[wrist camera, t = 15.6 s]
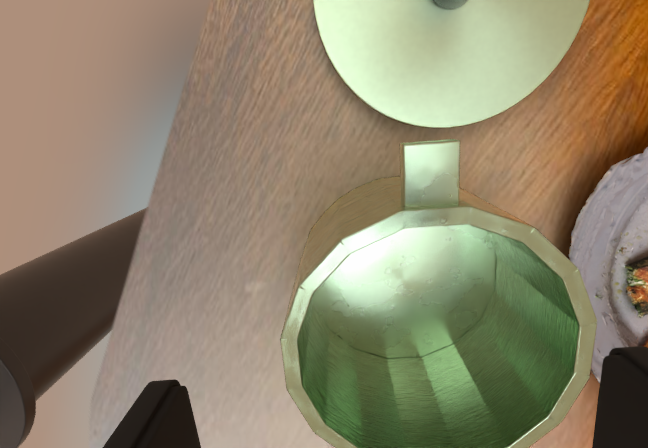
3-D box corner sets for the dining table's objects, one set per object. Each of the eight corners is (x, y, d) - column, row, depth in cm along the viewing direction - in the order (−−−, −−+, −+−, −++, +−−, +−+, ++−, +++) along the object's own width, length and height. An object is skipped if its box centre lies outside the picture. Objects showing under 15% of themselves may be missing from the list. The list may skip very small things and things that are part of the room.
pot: (313, 395, 30) (303, 518, 20) (286, 143, 24) (256, 157, 15) (497, 387, 29) (572, 511, 20) (512, 125, 23) (625, 128, 14)
